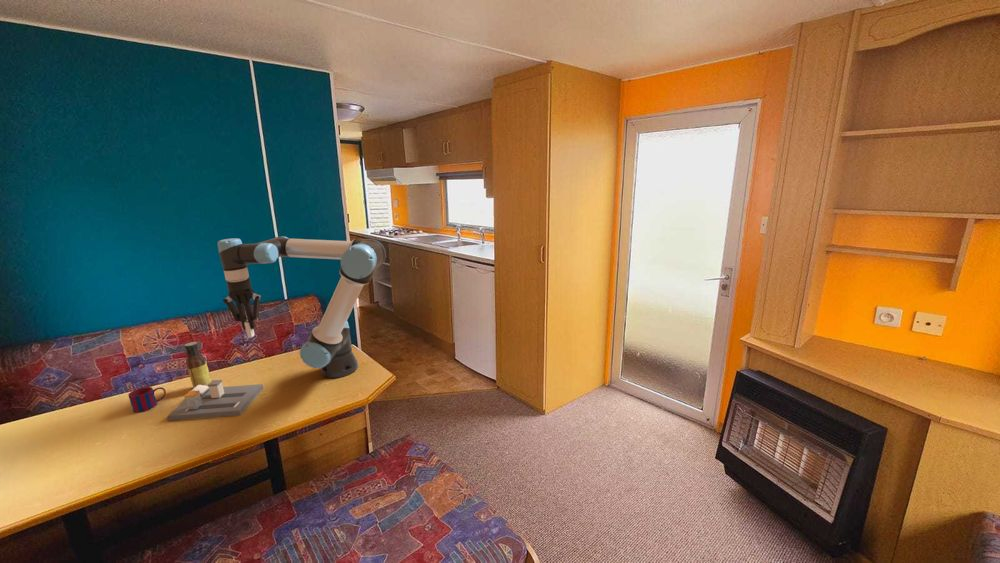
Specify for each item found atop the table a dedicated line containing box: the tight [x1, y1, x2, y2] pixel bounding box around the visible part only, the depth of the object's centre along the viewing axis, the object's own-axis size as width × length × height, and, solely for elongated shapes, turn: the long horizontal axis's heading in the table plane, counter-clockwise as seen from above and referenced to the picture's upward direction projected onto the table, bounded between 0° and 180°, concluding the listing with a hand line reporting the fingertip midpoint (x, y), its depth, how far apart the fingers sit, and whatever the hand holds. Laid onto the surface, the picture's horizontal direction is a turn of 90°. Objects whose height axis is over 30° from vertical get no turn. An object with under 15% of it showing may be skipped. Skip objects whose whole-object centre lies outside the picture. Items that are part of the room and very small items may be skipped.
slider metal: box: [184, 390, 202, 410], centre depth 140 cm, size 3×3×6 cm
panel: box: [166, 384, 264, 422], centre depth 146 cm, size 24×18×2 cm
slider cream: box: [208, 379, 224, 398], centre depth 147 cm, size 3×3×6 cm
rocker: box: [191, 385, 209, 395], centre depth 150 cm, size 4×5×2 cm
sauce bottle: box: [184, 341, 213, 389], centre depth 155 cm, size 7×6×20 cm
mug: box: [128, 386, 167, 414], centre depth 145 cm, size 7×10×7 cm
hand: (251, 336), depth 153 cm, fingers closed
